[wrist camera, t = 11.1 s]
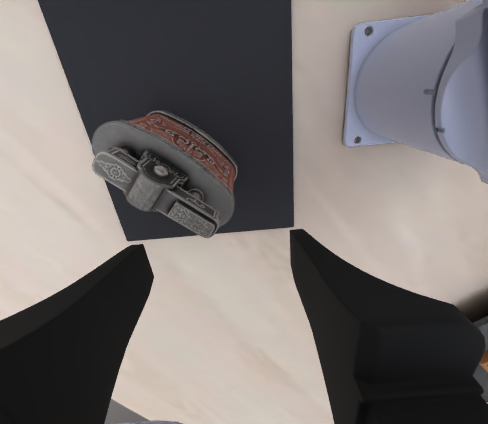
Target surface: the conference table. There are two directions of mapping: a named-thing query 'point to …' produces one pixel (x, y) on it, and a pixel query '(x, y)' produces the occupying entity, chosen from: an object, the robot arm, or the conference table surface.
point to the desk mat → (189, 89)
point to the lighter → (168, 169)
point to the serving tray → (483, 359)
